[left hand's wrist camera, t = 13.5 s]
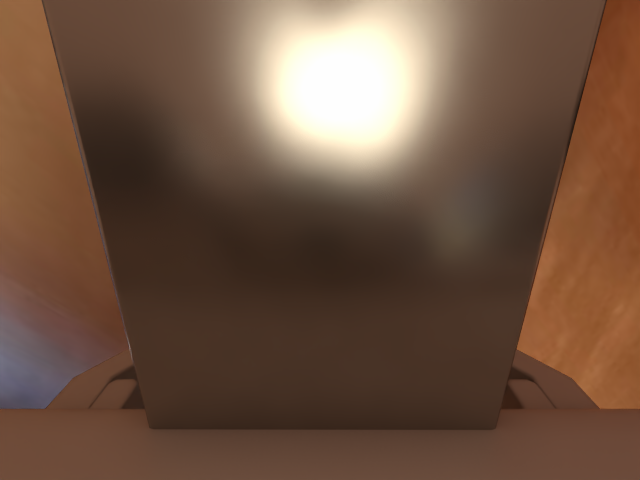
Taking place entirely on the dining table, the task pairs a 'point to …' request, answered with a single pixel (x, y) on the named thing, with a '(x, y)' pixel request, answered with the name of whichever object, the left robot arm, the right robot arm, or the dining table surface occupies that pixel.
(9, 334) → the dining table surface
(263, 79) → the bar
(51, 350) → the dining table surface
